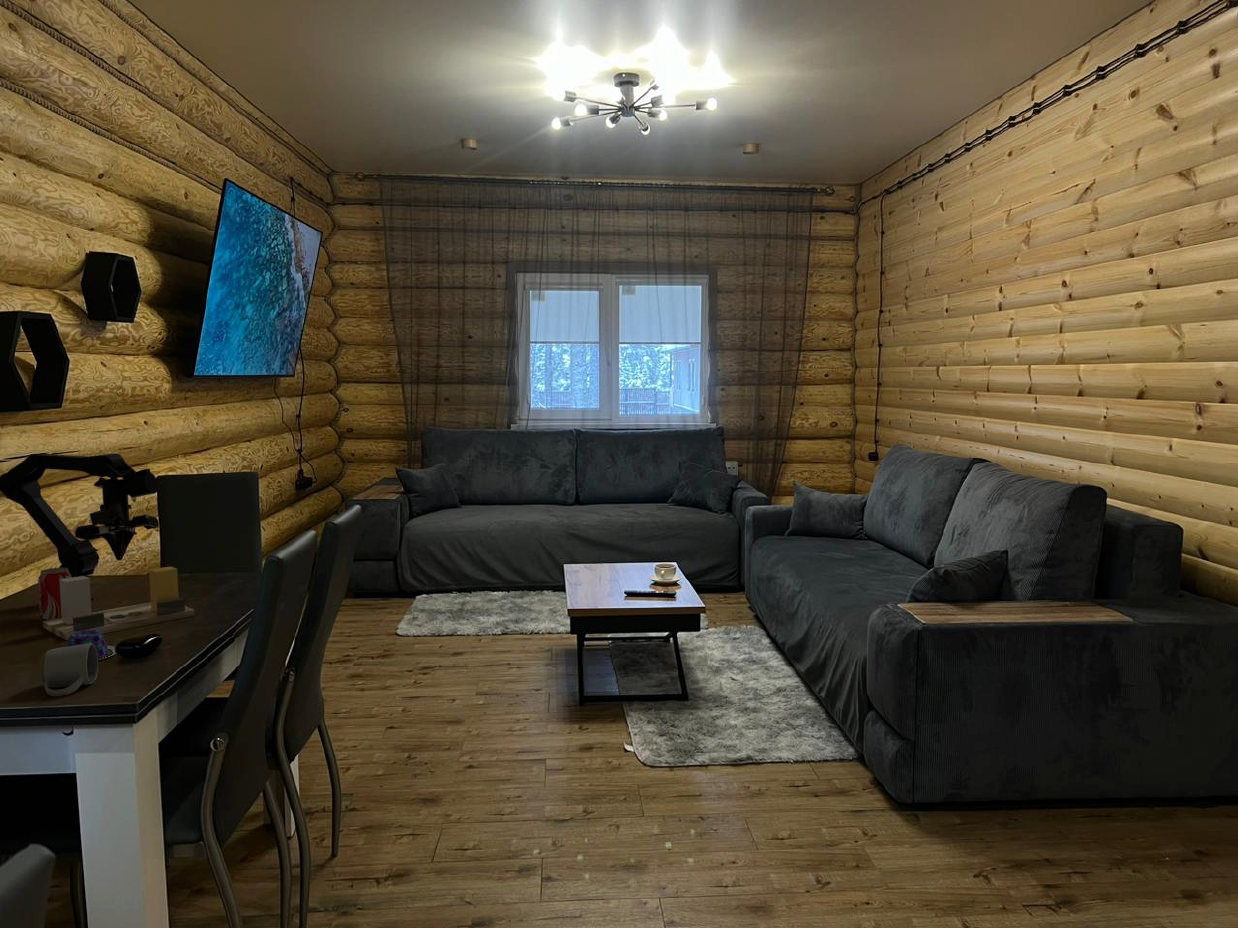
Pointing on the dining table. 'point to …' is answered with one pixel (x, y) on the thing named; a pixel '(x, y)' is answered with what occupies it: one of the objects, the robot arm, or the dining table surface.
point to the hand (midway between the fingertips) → (119, 560)
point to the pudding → (91, 641)
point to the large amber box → (163, 585)
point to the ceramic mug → (69, 668)
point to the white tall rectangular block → (75, 598)
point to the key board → (121, 618)
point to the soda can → (51, 592)
